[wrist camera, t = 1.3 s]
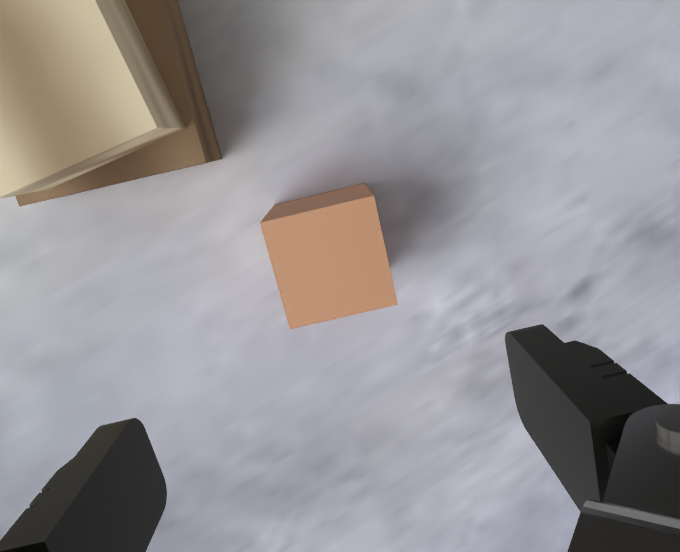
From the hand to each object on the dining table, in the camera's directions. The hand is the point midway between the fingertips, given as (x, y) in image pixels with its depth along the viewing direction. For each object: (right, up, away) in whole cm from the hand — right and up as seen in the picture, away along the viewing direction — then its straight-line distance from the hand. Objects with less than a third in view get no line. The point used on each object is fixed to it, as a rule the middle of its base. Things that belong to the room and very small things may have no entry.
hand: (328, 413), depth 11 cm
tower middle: (-11, +11, +12) cm, 20 cm away
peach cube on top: (0, +5, +17) cm, 18 cm away
